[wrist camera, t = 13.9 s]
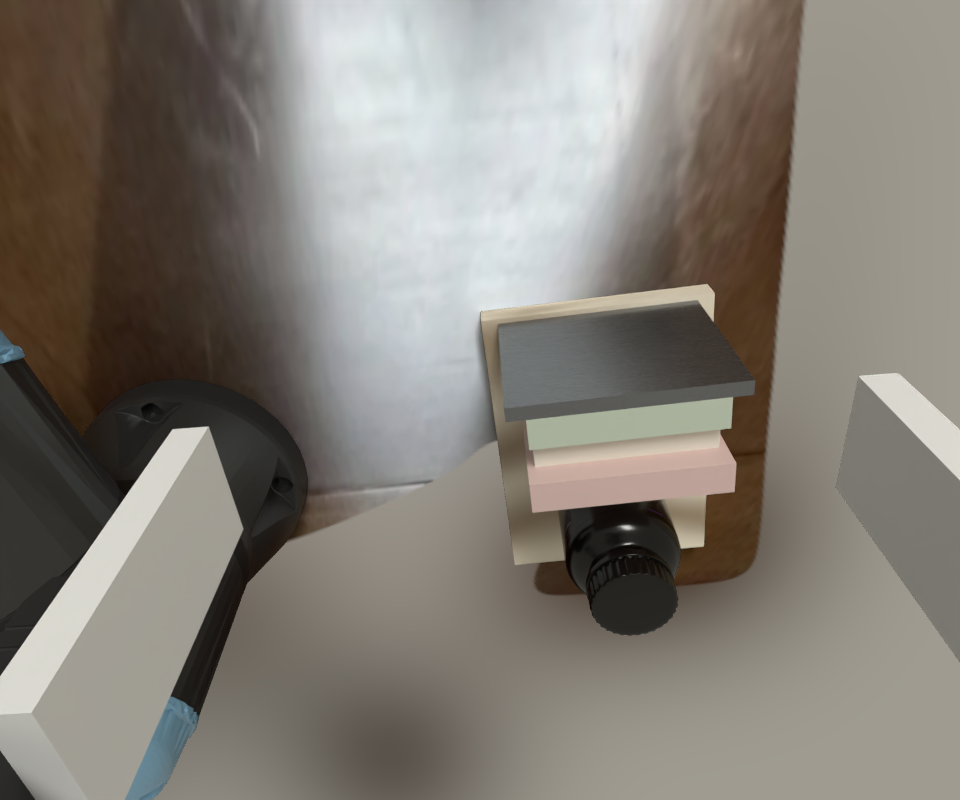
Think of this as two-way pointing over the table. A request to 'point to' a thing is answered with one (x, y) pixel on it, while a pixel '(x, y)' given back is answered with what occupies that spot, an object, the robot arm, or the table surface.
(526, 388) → the bookend
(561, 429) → the book row
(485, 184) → the table surface
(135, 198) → the table surface
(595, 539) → the supplement bottle
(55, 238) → the table surface
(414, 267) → the table surface
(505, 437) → the shelf board
